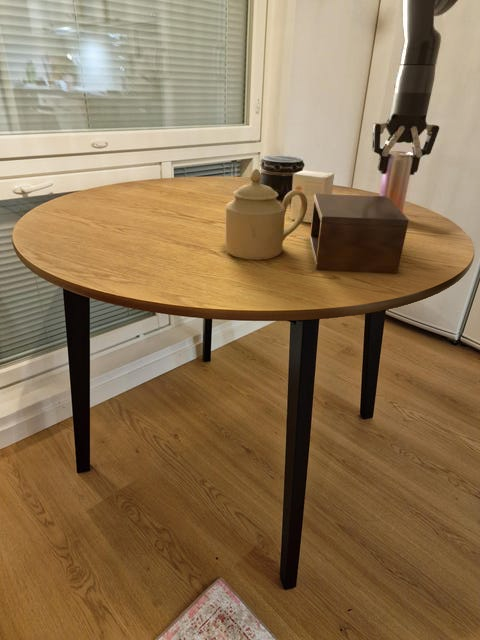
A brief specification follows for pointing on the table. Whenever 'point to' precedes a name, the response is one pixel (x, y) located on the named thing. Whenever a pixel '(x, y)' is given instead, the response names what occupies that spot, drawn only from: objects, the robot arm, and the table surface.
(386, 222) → the open-ended wooden box
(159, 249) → the table surface
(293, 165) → the container
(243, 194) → the sugar bowl
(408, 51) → the robot arm
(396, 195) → the beverage can
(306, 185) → the small box
